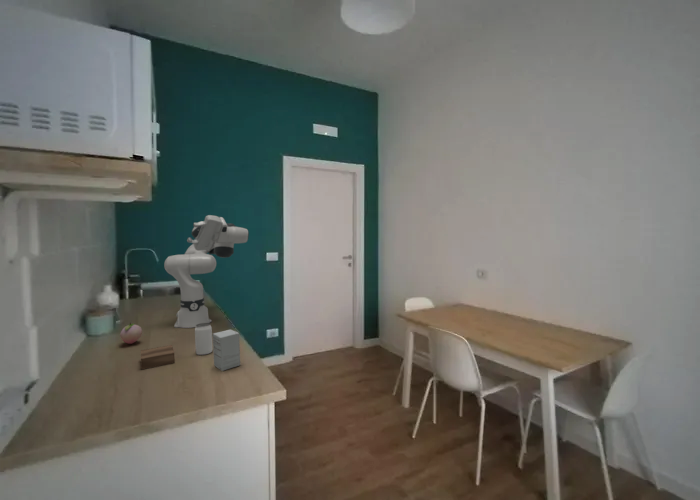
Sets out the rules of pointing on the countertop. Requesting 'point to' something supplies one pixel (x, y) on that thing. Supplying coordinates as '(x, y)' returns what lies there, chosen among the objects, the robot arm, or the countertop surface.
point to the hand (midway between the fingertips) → (190, 232)
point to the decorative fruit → (131, 333)
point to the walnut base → (157, 357)
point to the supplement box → (226, 349)
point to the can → (203, 338)
